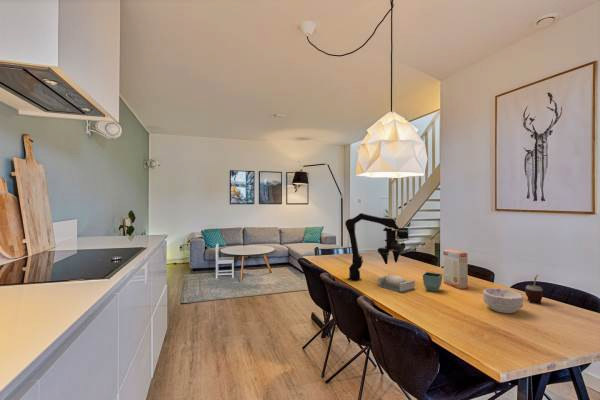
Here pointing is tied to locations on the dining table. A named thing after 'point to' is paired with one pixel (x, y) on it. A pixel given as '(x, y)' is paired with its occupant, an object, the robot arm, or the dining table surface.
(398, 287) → the cradle
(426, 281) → the flower pot
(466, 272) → the cracker box
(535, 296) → the mate gourd
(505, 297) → the grey stone bowl
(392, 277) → the paper roll
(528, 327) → the dining table surface
